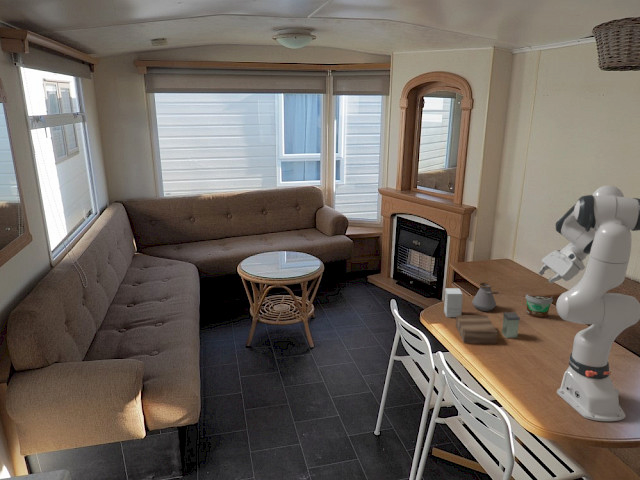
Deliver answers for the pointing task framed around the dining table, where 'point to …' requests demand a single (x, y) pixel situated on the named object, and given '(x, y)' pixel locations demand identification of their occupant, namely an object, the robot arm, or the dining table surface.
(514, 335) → the sage tea tin
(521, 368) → the dining table surface
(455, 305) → the supplement box
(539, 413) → the dining table surface
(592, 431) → the dining table surface
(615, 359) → the dining table surface
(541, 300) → the food container
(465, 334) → the walnut box
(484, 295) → the coffee pot
